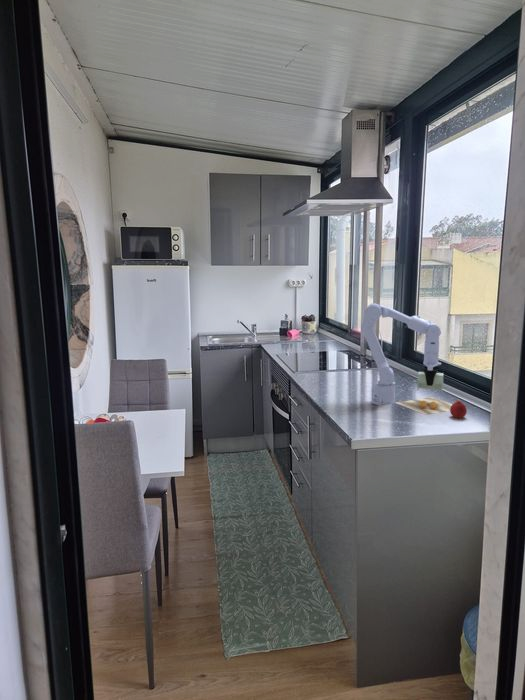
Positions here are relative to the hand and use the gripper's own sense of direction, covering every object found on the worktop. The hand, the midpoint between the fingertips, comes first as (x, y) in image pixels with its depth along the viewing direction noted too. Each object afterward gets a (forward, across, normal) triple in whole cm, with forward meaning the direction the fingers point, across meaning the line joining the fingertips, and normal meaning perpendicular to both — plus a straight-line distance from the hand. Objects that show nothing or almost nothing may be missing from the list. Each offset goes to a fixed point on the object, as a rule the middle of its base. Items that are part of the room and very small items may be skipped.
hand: (430, 383), depth 193 cm
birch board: (+10, -4, 0) cm, 10 cm away
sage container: (+3, 0, 0) cm, 3 cm away
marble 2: (+7, -8, -2) cm, 11 cm away
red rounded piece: (+10, -16, -11) cm, 22 cm away
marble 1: (+7, -8, +2) cm, 11 cm away
